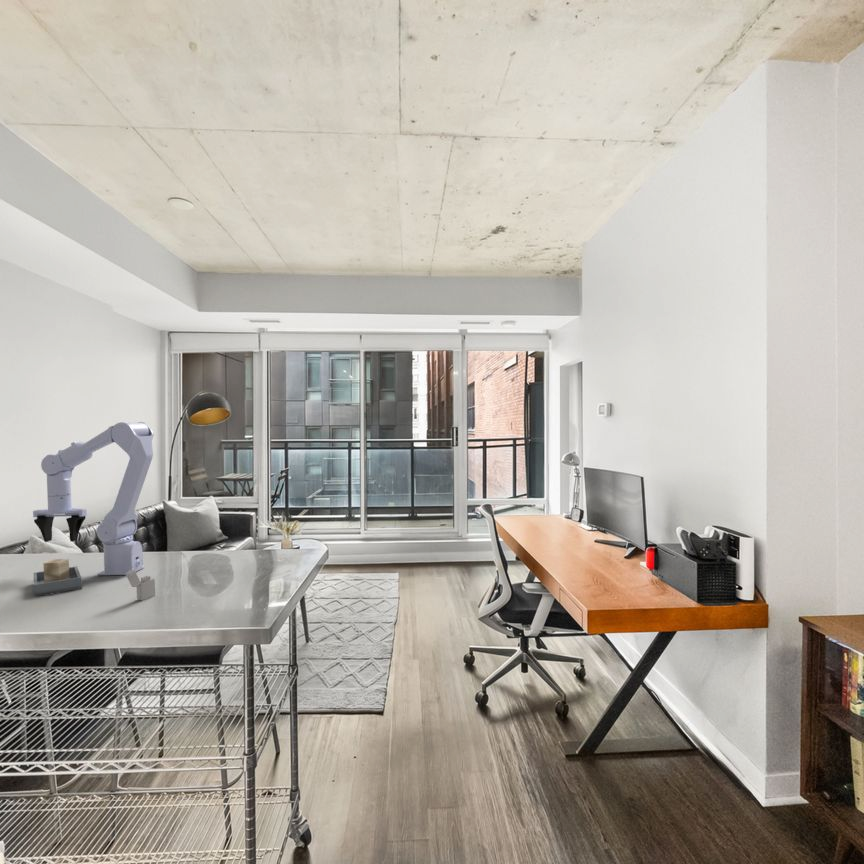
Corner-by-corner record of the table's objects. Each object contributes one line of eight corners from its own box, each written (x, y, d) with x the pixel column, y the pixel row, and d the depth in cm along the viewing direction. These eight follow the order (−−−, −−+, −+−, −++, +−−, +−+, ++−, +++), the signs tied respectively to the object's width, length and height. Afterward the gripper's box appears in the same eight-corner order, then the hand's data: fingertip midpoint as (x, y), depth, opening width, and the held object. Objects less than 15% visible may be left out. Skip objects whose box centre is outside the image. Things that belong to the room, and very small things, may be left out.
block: (69, 580, 147) (68, 558, 147) (59, 585, 143) (58, 562, 143) (54, 581, 147) (53, 559, 147) (44, 585, 143) (43, 563, 143)
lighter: (150, 594, 137) (149, 563, 137) (155, 595, 136) (154, 563, 136) (125, 604, 130) (124, 571, 130) (131, 604, 130) (130, 571, 129)
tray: (77, 576, 154) (77, 566, 154) (81, 588, 143) (81, 577, 143) (33, 583, 148) (33, 572, 148) (34, 596, 137) (34, 585, 137)
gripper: (24, 497, 156) (26, 544, 156) (74, 496, 156) (76, 543, 156) (42, 494, 163) (43, 538, 163) (90, 493, 163) (91, 538, 163)
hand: (60, 540), depth 160 cm, fingers open, 7 cm apart
